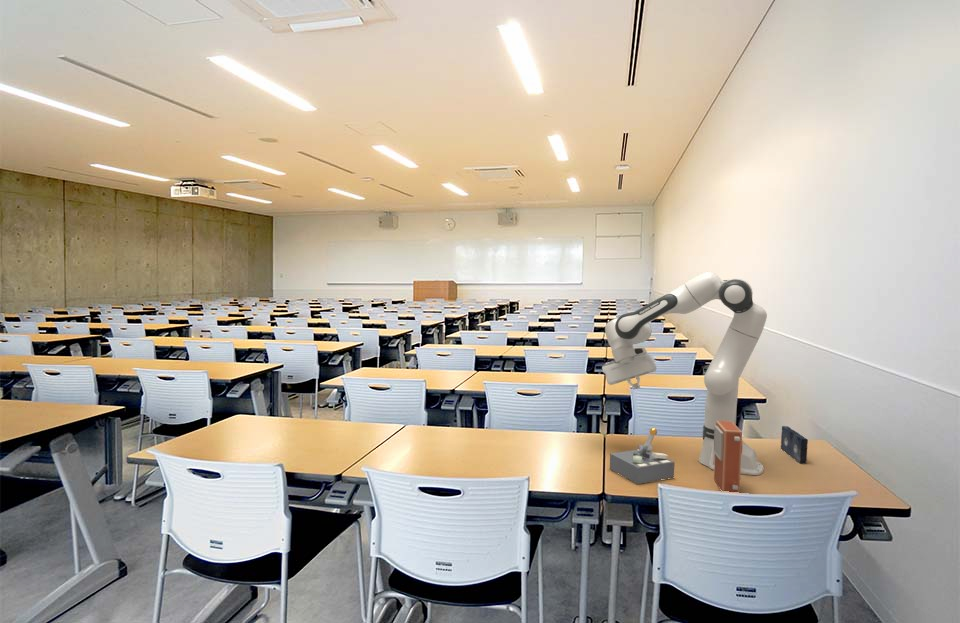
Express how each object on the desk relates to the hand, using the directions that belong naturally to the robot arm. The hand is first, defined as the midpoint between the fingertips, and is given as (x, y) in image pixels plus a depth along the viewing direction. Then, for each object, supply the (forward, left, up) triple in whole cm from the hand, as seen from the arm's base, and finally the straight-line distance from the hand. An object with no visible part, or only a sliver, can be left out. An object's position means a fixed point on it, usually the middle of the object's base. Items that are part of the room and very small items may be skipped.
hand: (636, 388), depth 214 cm
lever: (-8, +19, -21) cm, 29 cm away
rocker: (-14, +17, -20) cm, 30 cm away
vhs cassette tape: (-54, -35, -28) cm, 70 cm away
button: (-8, +25, -21) cm, 34 cm away
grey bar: (-8, +12, -21) cm, 26 cm away
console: (-8, +19, -27) cm, 34 cm away
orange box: (-36, +15, -28) cm, 48 cm away
